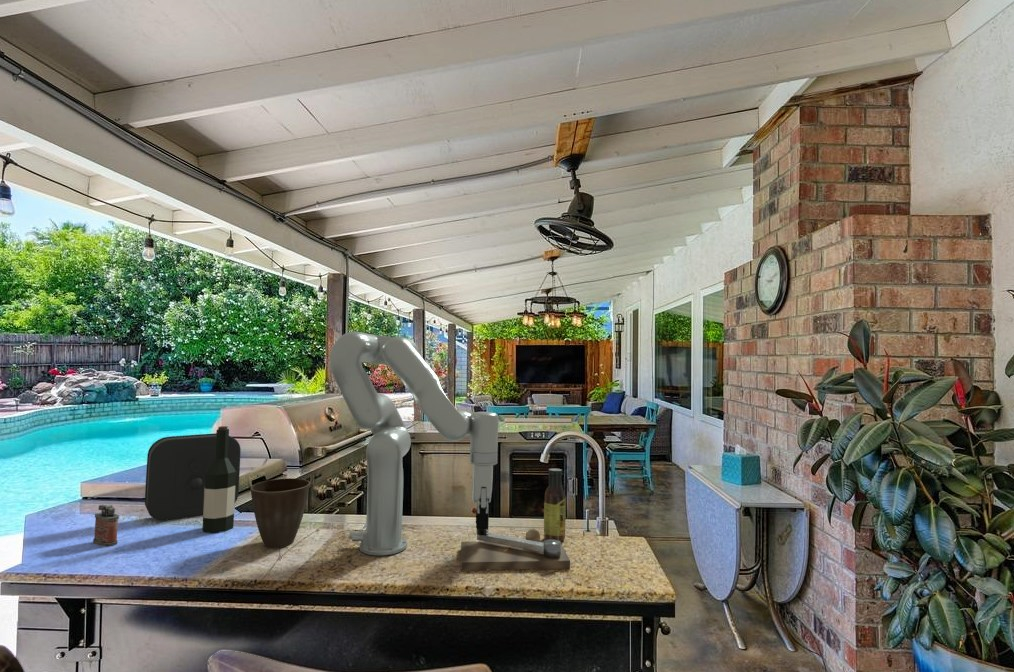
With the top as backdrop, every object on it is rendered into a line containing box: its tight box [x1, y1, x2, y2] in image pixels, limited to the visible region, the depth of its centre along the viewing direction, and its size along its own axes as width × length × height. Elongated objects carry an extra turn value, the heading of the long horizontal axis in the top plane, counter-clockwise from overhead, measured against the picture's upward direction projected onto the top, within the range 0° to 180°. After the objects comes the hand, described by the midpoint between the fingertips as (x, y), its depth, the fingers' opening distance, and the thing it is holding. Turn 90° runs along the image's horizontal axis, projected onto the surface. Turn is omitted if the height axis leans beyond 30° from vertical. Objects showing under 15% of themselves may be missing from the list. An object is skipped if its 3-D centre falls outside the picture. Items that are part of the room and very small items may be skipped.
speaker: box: [144, 432, 242, 522], centre depth 161 cm, size 25×9×25 cm, turn 131°
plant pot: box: [250, 477, 311, 549], centre depth 137 cm, size 15×15×16 cm
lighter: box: [92, 504, 120, 548], centre depth 135 cm, size 8×3×10 cm, turn 65°
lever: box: [476, 504, 562, 558], centre depth 130 cm, size 24×4×10 cm, turn 65°
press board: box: [460, 528, 571, 572], centre depth 129 cm, size 27×14×6 cm, turn 95°
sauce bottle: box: [543, 467, 567, 542], centre depth 145 cm, size 7×6×20 cm
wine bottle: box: [201, 425, 236, 534], centre depth 148 cm, size 8×8×30 cm
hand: (481, 525), depth 135 cm, fingers closed on lever, 3 cm apart
